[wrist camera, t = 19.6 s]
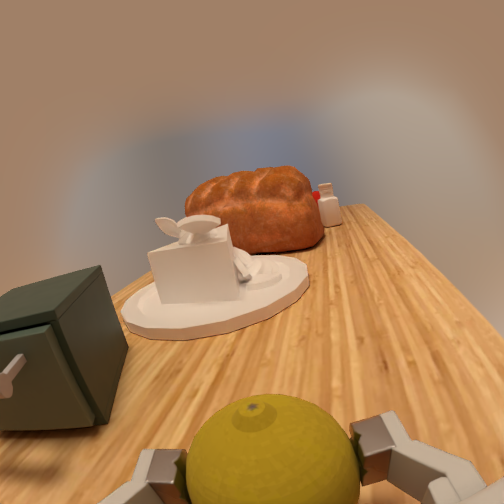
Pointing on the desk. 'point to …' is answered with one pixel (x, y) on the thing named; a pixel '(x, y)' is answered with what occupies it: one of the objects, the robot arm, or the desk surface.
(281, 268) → the dish
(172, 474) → the robot arm
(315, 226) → the bread
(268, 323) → the desk surface
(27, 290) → the cabinet
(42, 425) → the drawer
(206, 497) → the lemon
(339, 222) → the pepper shaker
